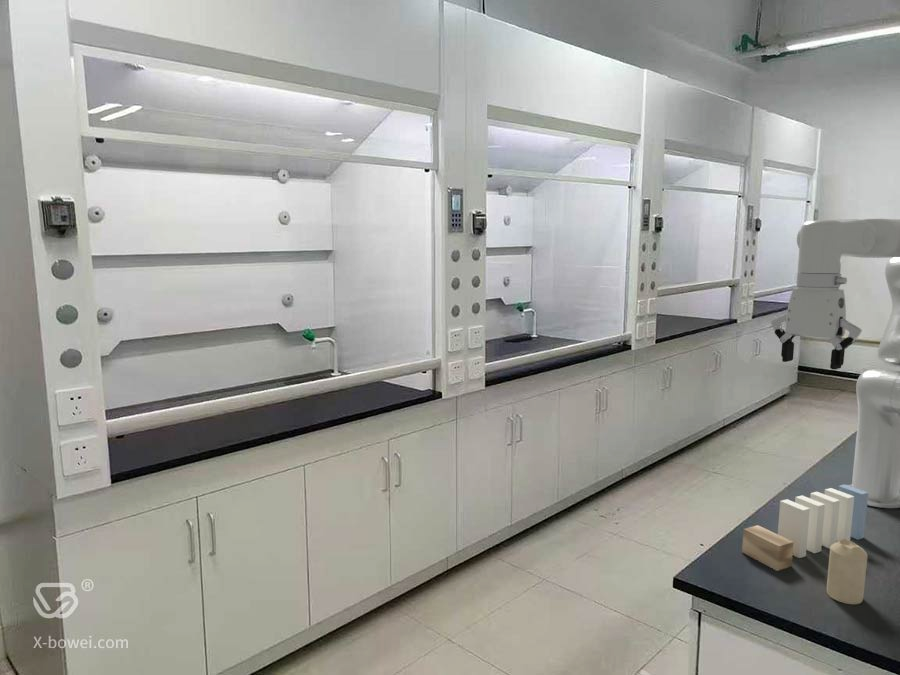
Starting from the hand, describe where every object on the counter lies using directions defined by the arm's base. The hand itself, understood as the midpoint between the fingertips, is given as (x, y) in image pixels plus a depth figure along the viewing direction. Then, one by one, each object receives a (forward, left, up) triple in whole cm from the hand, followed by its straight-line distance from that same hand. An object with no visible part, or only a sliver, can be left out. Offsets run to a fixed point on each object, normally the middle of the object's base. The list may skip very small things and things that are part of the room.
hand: (810, 364), depth 131 cm
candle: (+25, +6, -37) cm, 45 cm away
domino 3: (+4, +4, -36) cm, 37 cm away
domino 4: (+1, +7, -36) cm, 37 cm away
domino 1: (+11, -2, -36) cm, 38 cm away
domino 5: (-3, +10, -36) cm, 38 cm away
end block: (+16, -6, -36) cm, 41 cm away
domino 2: (+8, +1, -36) cm, 37 cm away
